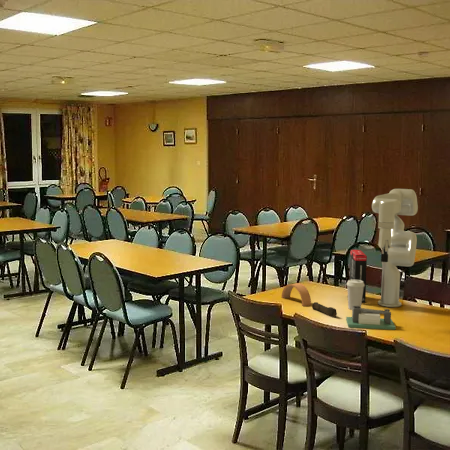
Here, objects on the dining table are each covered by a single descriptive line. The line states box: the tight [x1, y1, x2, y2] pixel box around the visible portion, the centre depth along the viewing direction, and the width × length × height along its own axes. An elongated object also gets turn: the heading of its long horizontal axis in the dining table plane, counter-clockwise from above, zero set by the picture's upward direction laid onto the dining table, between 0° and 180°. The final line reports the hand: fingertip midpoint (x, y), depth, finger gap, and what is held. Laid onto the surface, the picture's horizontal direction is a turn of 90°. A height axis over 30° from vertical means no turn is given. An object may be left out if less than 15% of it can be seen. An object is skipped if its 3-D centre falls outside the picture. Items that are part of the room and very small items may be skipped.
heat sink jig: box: [345, 306, 397, 331], centre depth 296 cm, size 13×22×8 cm, turn 83°
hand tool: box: [311, 302, 338, 318], centre depth 315 cm, size 19×4×5 cm, turn 24°
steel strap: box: [357, 305, 388, 315], centre depth 295 cm, size 3×16×2 cm, turn 83°
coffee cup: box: [346, 279, 365, 311], centre depth 324 cm, size 10×10×15 cm
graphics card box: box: [349, 249, 368, 304], centre depth 343 cm, size 17×7×27 cm, turn 179°
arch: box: [281, 282, 312, 307], centre depth 338 cm, size 6×20×10 cm, turn 29°
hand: (384, 261), depth 304 cm, fingers closed
